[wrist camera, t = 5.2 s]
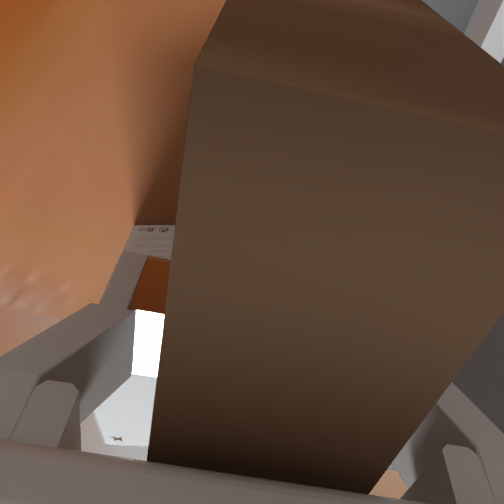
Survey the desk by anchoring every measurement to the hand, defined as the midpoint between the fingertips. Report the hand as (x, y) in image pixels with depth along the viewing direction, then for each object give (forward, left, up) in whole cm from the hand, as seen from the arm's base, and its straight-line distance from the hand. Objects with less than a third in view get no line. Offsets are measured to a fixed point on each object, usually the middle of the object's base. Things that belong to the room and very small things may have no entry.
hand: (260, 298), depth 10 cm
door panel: (0, 0, -6) cm, 6 cm away
